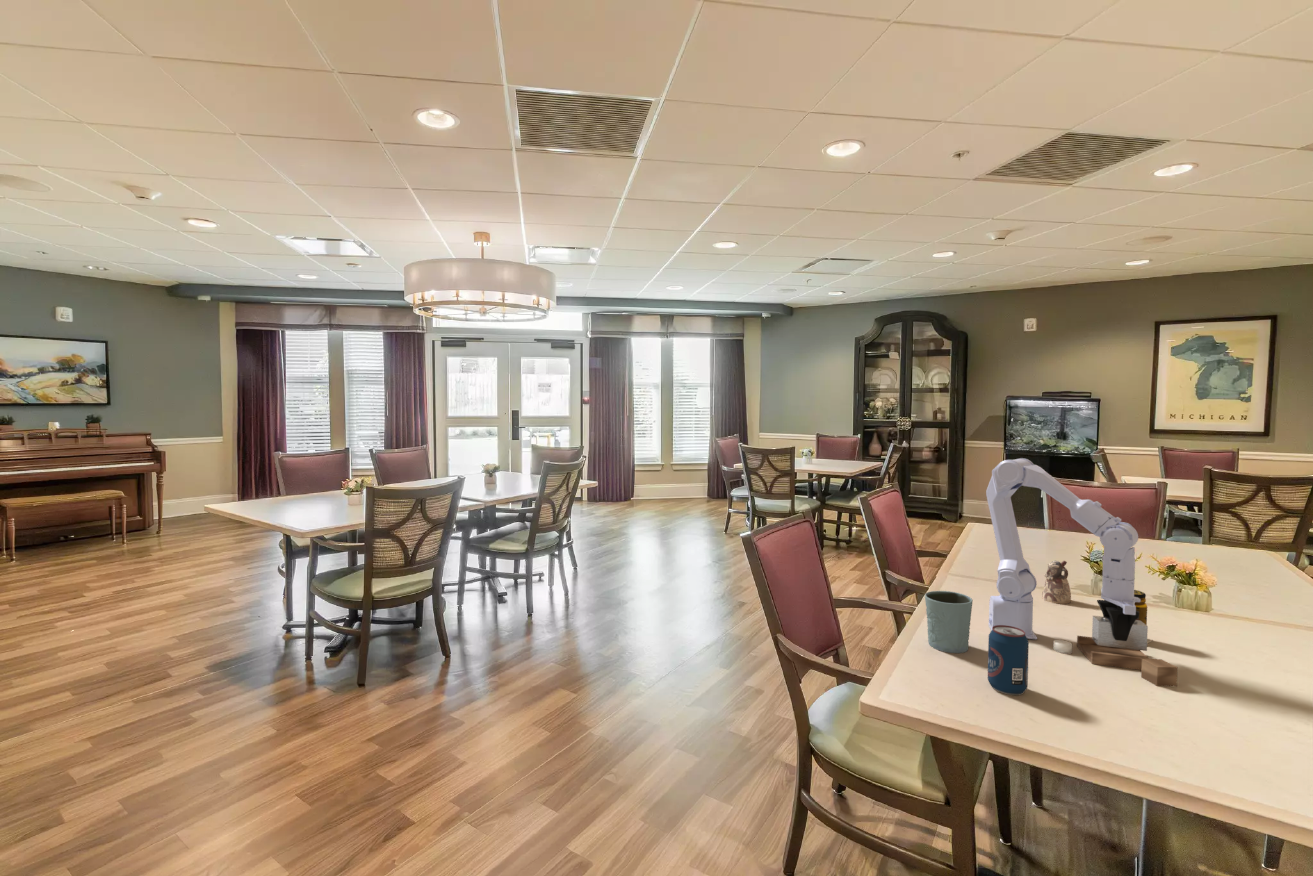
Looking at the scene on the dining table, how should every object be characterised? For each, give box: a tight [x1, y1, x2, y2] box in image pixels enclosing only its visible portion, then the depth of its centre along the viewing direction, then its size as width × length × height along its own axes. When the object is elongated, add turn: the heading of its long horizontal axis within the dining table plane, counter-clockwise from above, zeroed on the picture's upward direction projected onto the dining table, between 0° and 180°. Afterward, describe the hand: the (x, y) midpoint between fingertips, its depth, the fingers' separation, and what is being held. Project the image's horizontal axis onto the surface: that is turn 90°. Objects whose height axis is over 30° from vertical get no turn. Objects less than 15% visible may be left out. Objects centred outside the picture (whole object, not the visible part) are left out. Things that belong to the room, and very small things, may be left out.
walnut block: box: [1140, 658, 1178, 687], centre depth 122 cm, size 4×4×4 cm
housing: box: [1091, 615, 1149, 652], centre depth 134 cm, size 4×9×6 cm, turn 69°
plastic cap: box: [1052, 639, 1073, 655], centre depth 139 cm, size 4×4×2 cm
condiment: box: [1134, 589, 1153, 645], centre depth 145 cm, size 7×8×12 cm
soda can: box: [987, 625, 1029, 696], centre depth 119 cm, size 7×7×12 cm
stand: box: [1076, 635, 1154, 671], centre depth 134 cm, size 12×11×2 cm
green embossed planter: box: [924, 590, 974, 654], centre depth 141 cm, size 10×10×12 cm
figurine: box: [1041, 560, 1072, 605], centre depth 176 cm, size 7×7×12 cm
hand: (1116, 636), depth 134 cm, fingers closed on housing, 4 cm apart
